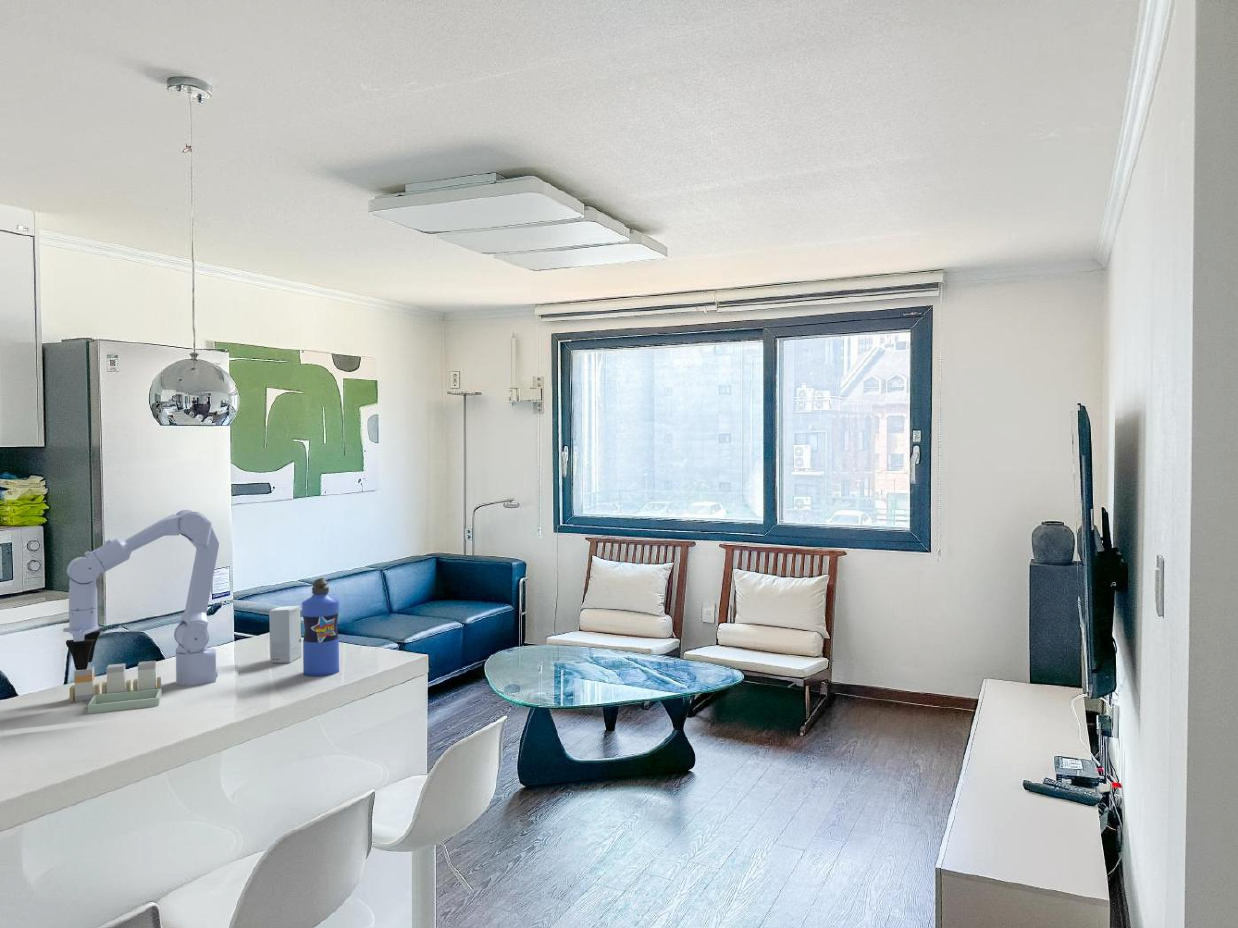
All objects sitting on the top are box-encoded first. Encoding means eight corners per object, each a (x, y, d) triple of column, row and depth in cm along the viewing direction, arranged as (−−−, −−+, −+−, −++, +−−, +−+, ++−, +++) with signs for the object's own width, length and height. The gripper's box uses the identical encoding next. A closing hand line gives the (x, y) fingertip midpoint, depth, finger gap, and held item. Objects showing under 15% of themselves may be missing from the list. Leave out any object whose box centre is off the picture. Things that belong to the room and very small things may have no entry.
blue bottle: (344, 673, 232) (343, 579, 231) (308, 678, 227) (307, 582, 226) (333, 666, 240) (332, 575, 239) (298, 671, 234) (297, 578, 234)
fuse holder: (164, 691, 216) (164, 674, 216) (162, 697, 210) (162, 680, 210) (69, 700, 208) (69, 683, 208) (65, 707, 202) (65, 690, 202)
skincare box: (290, 663, 243) (289, 610, 243) (268, 663, 243) (268, 610, 243) (302, 656, 251) (301, 604, 251) (281, 656, 252) (281, 604, 251)
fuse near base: (156, 689, 214) (155, 660, 214) (154, 692, 211) (154, 663, 210) (139, 690, 212) (139, 662, 212) (138, 694, 209) (137, 665, 209)
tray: (161, 699, 208) (161, 688, 208) (158, 709, 200) (158, 698, 200) (93, 706, 203) (93, 695, 203) (87, 717, 194) (87, 705, 194)
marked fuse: (94, 695, 209) (94, 666, 208) (92, 699, 205) (91, 669, 205) (77, 697, 207) (76, 667, 207) (74, 700, 204) (74, 671, 204)
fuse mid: (125, 692, 211) (125, 663, 211) (124, 695, 208) (123, 666, 208) (108, 693, 210) (108, 664, 210) (106, 697, 207) (106, 668, 206)
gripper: (69, 604, 211) (69, 660, 211) (57, 615, 198) (58, 674, 198) (102, 602, 214) (103, 657, 214) (93, 612, 200) (94, 671, 201)
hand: (84, 665), depth 206 cm, fingers open, 7 cm apart
